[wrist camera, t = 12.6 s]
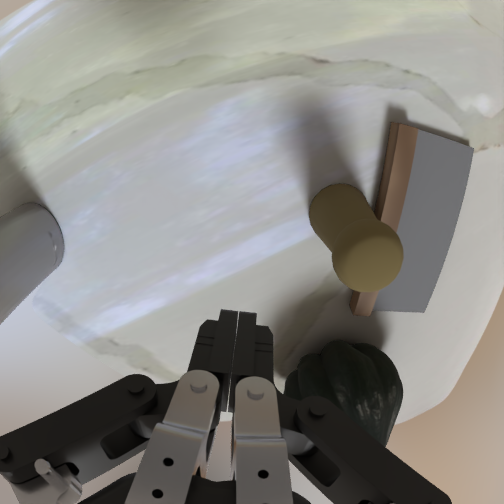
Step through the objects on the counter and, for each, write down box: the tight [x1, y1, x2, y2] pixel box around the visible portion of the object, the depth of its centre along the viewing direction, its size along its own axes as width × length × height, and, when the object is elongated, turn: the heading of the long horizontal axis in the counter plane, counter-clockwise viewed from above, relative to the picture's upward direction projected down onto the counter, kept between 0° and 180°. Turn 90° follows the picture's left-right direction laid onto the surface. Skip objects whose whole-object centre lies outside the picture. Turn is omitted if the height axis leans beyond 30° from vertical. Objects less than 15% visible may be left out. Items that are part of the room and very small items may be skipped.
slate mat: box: [372, 129, 474, 313], centre depth 29 cm, size 8×20×1 cm, turn 174°
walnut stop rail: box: [349, 122, 418, 316], centre depth 28 cm, size 2×20×2 cm, turn 174°
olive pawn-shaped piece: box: [309, 183, 404, 292], centre depth 24 cm, size 6×6×11 cm
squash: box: [283, 340, 403, 447], centre depth 32 cm, size 14×15×15 cm
